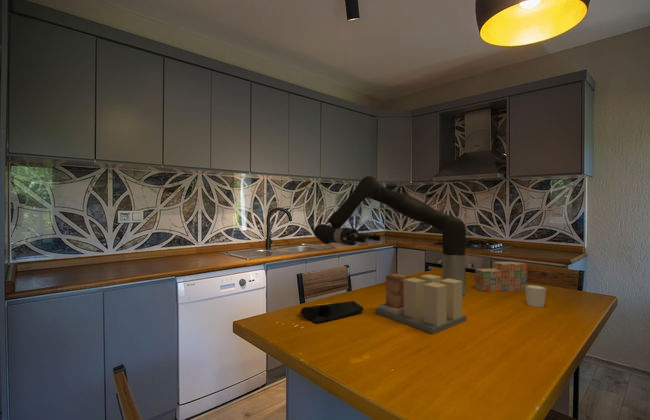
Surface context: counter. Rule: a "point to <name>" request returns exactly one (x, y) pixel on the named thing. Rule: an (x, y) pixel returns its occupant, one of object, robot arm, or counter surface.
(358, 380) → the counter surface
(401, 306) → the terracotta pillar
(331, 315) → the dark slate chunk
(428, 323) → the pillar board
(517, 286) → the stack of blocks
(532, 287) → the beige piece
